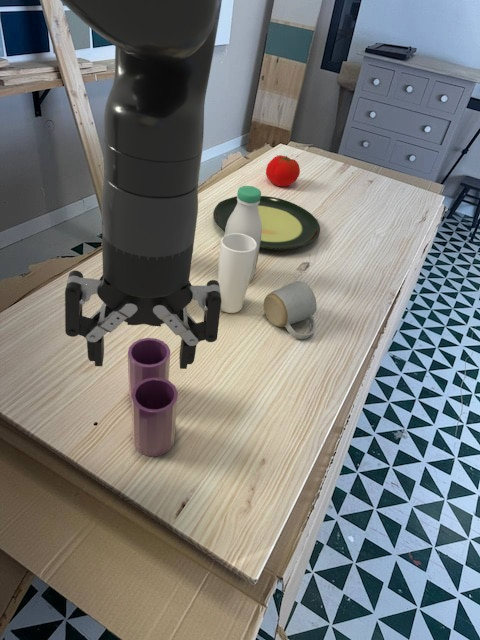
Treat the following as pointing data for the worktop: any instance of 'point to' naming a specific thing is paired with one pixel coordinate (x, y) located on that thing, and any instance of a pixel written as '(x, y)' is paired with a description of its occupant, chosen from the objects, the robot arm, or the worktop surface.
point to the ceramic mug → (291, 307)
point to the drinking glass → (235, 269)
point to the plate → (276, 222)
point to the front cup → (154, 416)
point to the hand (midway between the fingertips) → (142, 361)
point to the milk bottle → (247, 217)
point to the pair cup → (147, 361)
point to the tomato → (282, 171)
